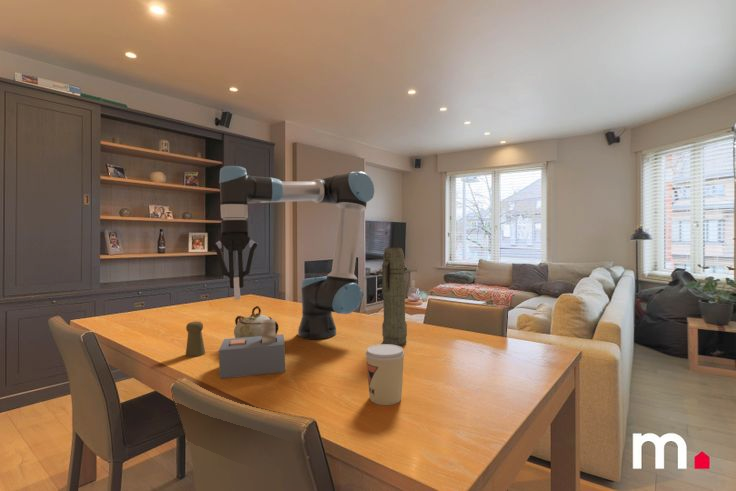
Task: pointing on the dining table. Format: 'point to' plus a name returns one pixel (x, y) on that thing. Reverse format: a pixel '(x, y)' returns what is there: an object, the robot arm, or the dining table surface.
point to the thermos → (394, 297)
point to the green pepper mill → (194, 339)
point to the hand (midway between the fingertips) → (237, 298)
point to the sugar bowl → (251, 325)
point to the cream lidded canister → (385, 373)
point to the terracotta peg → (237, 342)
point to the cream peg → (268, 331)
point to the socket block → (251, 357)
